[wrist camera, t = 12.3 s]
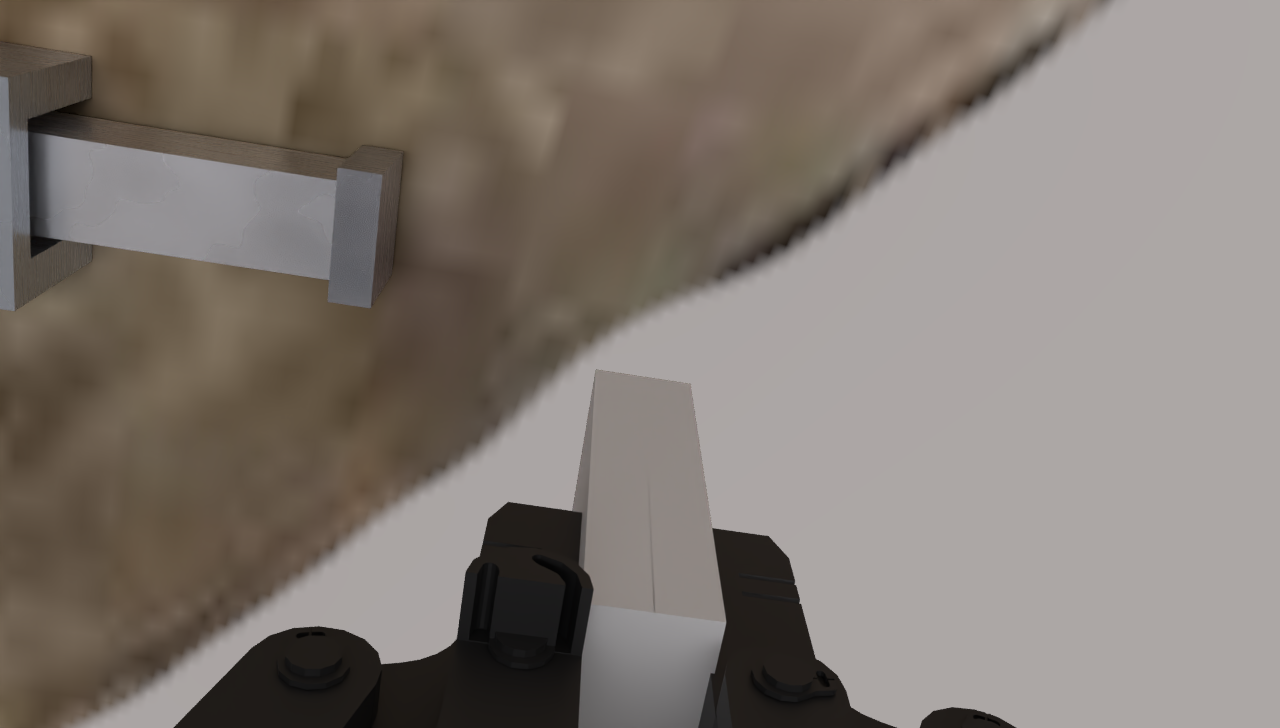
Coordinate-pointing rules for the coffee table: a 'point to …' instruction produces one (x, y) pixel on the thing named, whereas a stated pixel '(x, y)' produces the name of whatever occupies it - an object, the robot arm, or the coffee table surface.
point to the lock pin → (217, 200)
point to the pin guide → (3, 101)
